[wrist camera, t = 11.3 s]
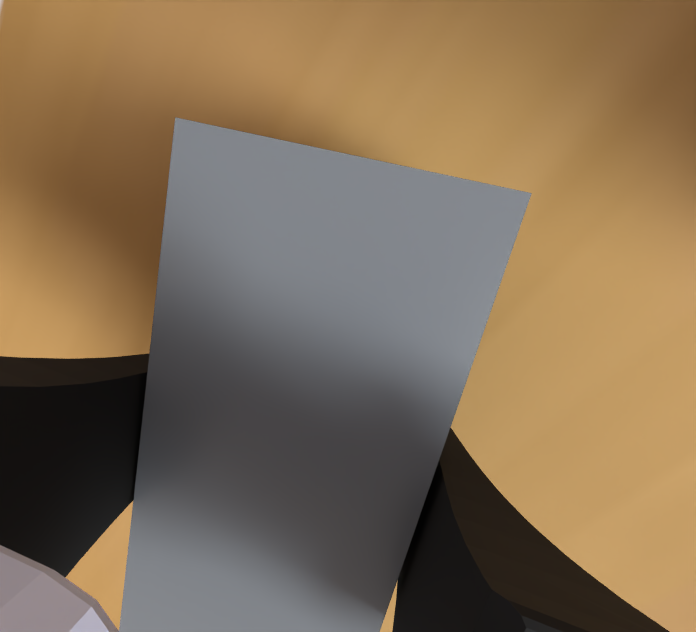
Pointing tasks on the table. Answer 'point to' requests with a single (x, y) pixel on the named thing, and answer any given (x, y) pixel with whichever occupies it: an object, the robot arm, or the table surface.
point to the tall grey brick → (301, 379)
